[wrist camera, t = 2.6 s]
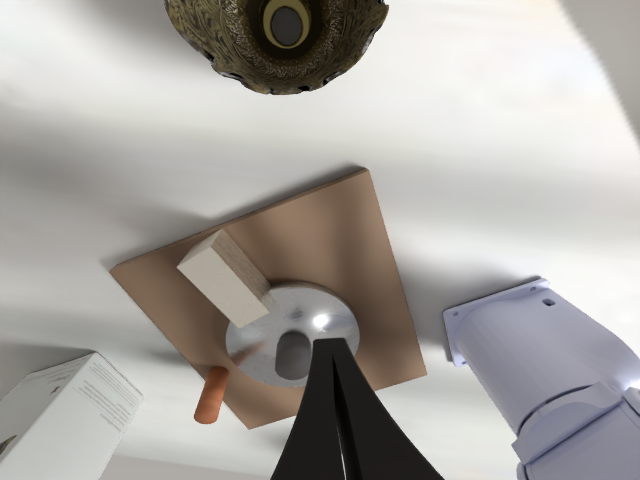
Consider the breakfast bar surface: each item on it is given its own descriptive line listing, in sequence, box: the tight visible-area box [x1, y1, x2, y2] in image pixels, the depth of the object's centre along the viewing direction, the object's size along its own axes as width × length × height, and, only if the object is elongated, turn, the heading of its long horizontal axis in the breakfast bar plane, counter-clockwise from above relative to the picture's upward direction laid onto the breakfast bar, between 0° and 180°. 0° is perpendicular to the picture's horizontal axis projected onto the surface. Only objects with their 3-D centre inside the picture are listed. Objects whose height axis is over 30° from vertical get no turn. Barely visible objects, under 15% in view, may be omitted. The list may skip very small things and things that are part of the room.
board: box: [109, 168, 427, 430], centre depth 22 cm, size 20×22×5 cm
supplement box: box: [0, 352, 143, 480], centre depth 20 cm, size 7×7×13 cm
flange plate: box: [177, 228, 360, 387], centre depth 20 cm, size 16×11×3 cm, turn 31°
